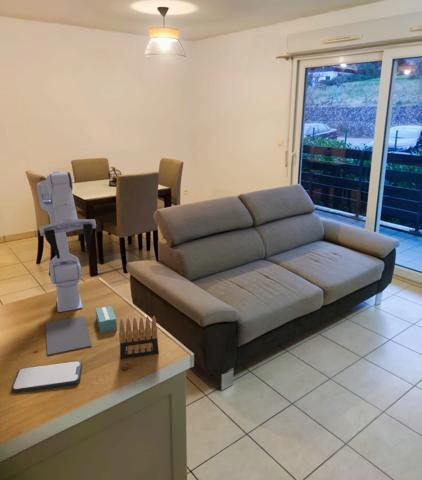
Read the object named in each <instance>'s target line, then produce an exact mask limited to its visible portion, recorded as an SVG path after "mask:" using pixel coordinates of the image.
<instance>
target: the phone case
mask: <svg viewBox="0 0 422 480" xmlns="http://www.w3.org/2000/svg"><path fill="white" fill-rule="evenodd" d="M82 369H83V364H82V361H80V360H77V361H76V360H75V361H67V362H61V363H52V364H45V365H44V364H43V365H38V366H29V367H23V368H20V369H19V370H18V371H17V373H16V375H15V378H14V381H13V383H12V386H11V392H12V393H13V394H18V393H19V394H21V393H27V392H28V393H29V392H33V391H42V390H43V391H44V390H49V389H51V390H52V389H57V388H65V387H72V386H73V387H74V386H77V385H78V384H80V382H81V375H82V371H83V370H82Z"/></svg>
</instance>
